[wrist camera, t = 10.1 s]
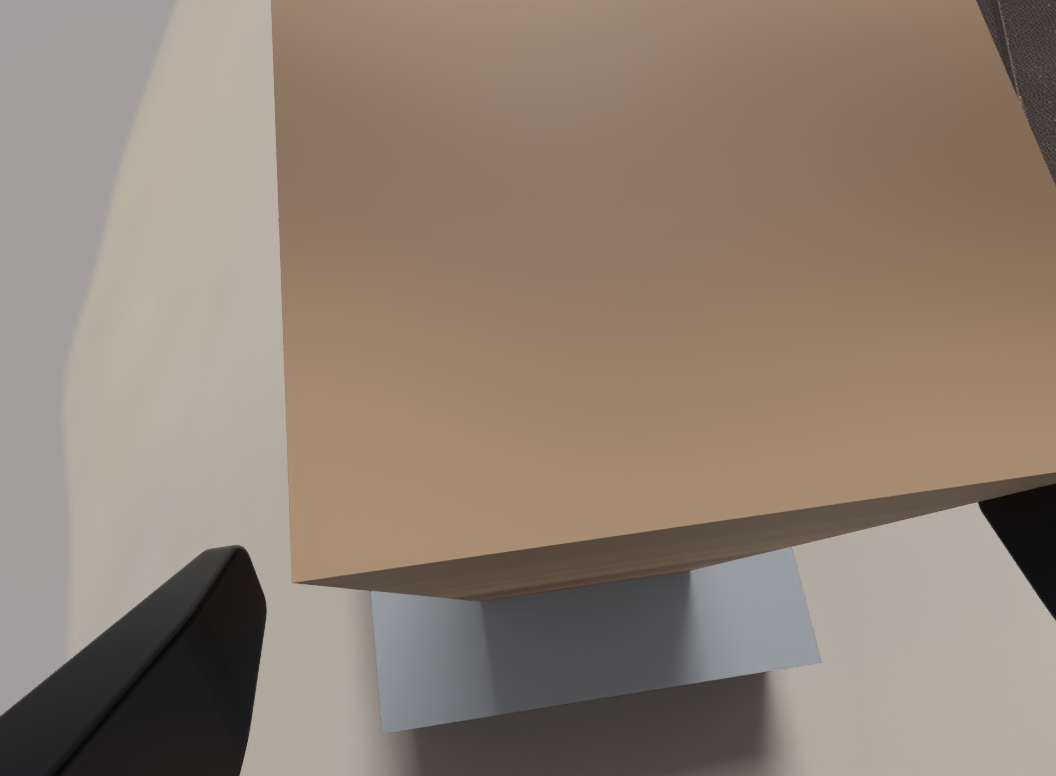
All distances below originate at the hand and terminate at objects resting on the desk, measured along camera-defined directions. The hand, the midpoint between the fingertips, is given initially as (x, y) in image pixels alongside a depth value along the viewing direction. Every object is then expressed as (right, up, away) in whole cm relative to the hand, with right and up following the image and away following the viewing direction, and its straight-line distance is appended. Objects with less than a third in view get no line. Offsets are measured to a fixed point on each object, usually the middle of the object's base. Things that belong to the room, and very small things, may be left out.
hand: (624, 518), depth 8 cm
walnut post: (0, -1, +9) cm, 9 cm away
